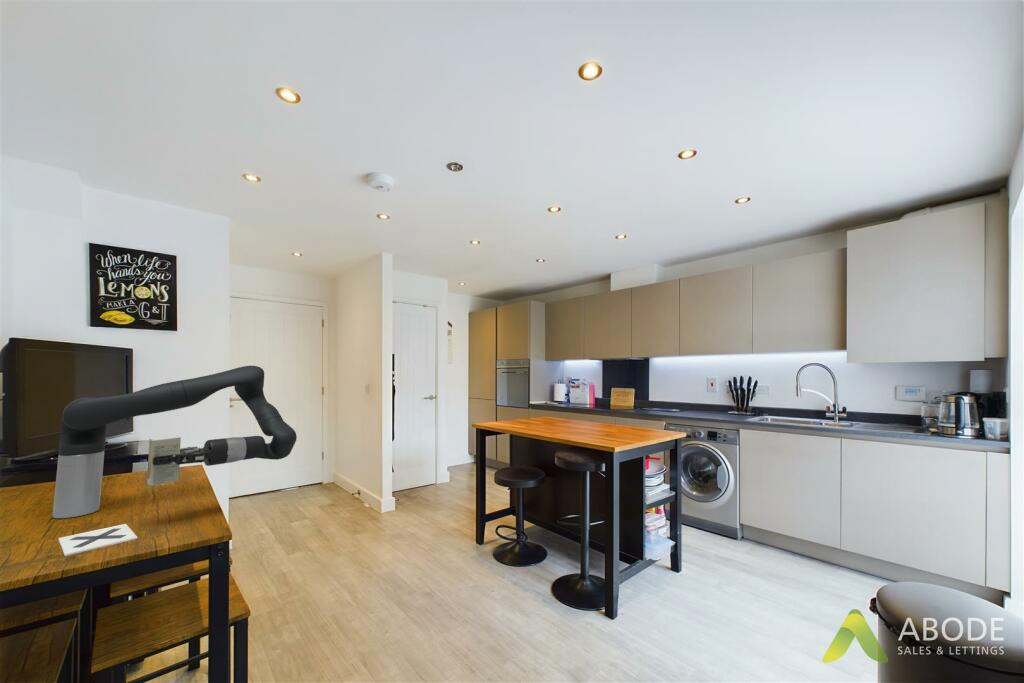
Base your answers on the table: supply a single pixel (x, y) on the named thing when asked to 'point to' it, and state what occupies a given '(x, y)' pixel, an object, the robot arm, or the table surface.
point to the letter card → (96, 539)
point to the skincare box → (165, 471)
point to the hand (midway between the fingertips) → (151, 460)
